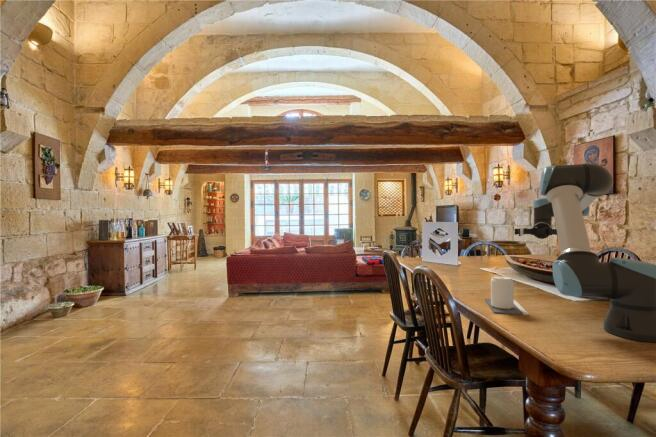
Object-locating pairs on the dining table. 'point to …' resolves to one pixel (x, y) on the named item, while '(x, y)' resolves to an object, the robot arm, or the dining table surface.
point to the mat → (515, 310)
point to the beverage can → (502, 292)
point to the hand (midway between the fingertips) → (539, 232)
